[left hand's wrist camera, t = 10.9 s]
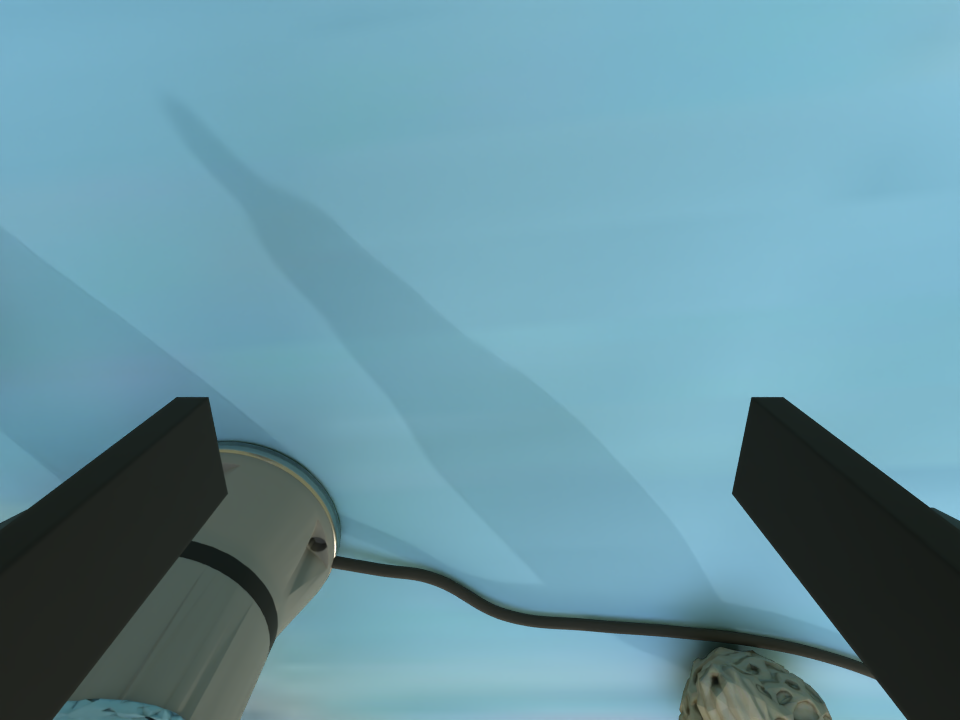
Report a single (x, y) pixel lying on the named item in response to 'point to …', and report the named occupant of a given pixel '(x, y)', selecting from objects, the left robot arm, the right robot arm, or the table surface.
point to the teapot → (747, 690)
